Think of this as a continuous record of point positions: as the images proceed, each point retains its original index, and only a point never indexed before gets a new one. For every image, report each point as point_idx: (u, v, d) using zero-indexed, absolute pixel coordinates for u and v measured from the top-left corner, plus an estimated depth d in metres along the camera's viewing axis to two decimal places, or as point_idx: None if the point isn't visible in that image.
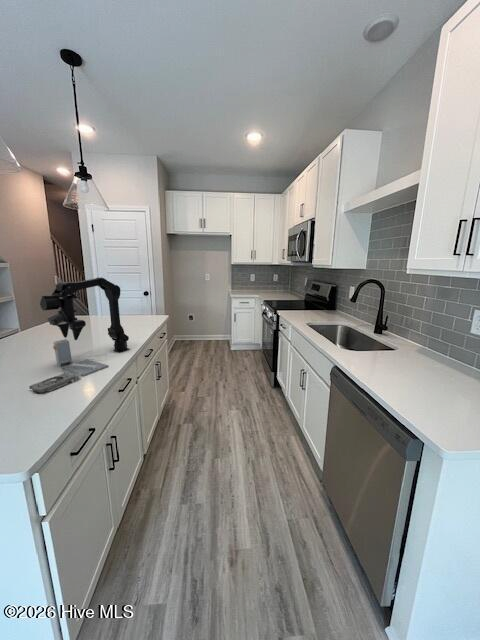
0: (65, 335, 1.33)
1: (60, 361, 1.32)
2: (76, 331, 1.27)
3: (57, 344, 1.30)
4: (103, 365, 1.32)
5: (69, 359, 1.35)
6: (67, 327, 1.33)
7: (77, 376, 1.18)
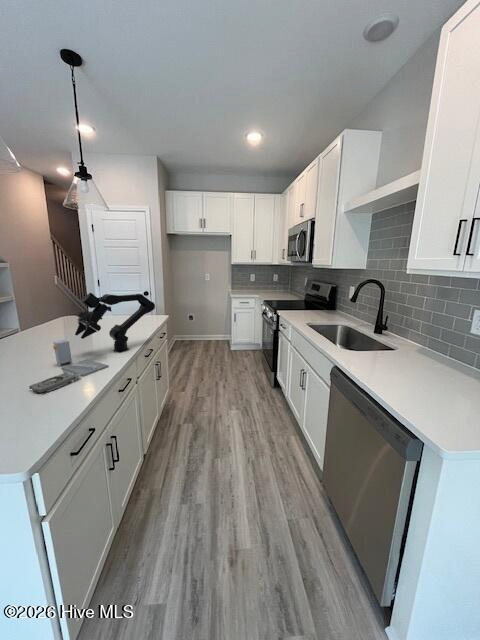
0: (77, 333, 1.42)
1: (60, 361, 1.32)
2: (88, 331, 1.37)
3: (57, 344, 1.30)
4: (103, 365, 1.32)
5: (69, 359, 1.35)
6: (84, 329, 1.45)
7: (77, 376, 1.18)
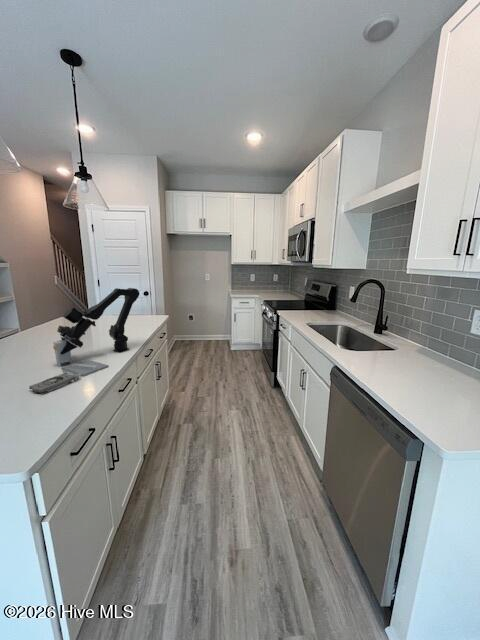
0: None
1: (60, 361, 1.32)
2: (68, 347, 1.33)
3: (57, 344, 1.30)
4: (103, 365, 1.32)
5: (69, 359, 1.35)
6: None
7: (77, 376, 1.18)
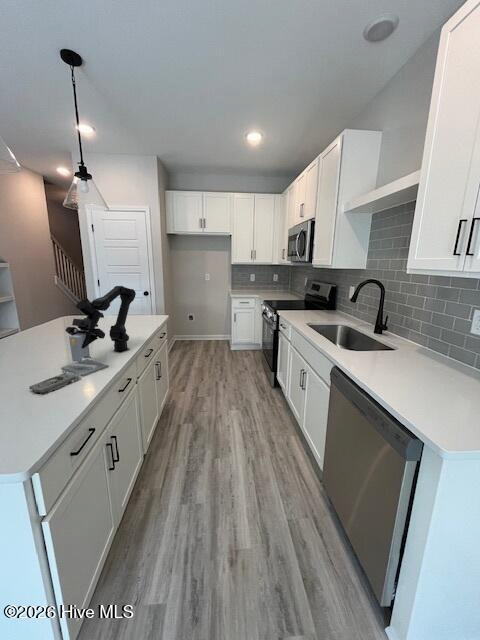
0: None
1: (81, 356, 1.25)
2: (88, 340, 1.27)
3: (78, 338, 1.23)
4: (103, 365, 1.32)
5: (88, 353, 1.29)
6: None
7: (77, 376, 1.18)
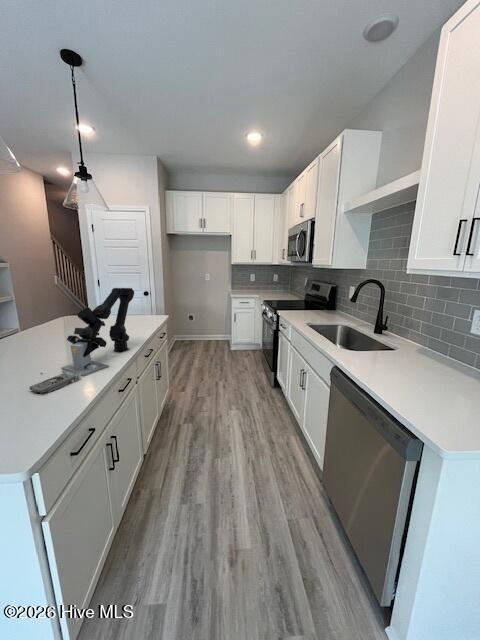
0: None
1: (83, 364, 1.26)
2: (90, 348, 1.28)
3: (80, 346, 1.23)
4: (103, 365, 1.32)
5: (89, 361, 1.29)
6: None
7: (77, 376, 1.18)
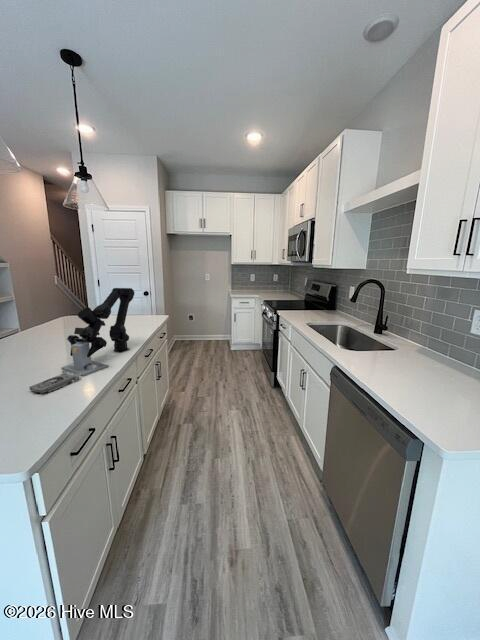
0: None
1: (83, 364, 1.26)
2: (93, 348, 1.27)
3: (81, 346, 1.24)
4: (103, 365, 1.32)
5: (89, 361, 1.30)
6: None
7: (77, 376, 1.18)
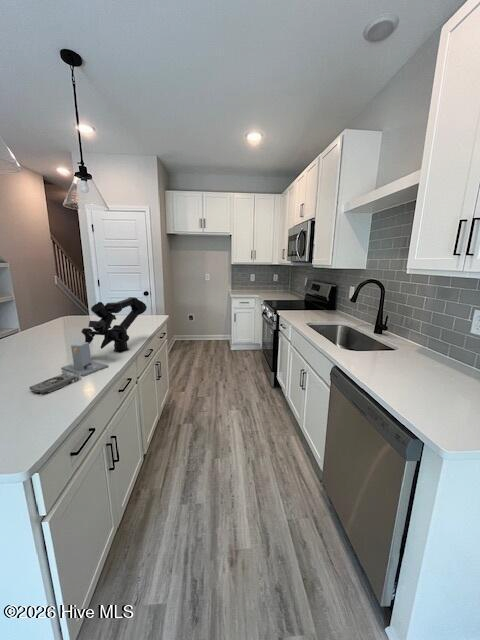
0: None
1: (83, 364, 1.26)
2: (106, 340, 1.37)
3: (81, 346, 1.24)
4: (103, 365, 1.32)
5: (89, 361, 1.30)
6: (91, 340, 1.40)
7: (77, 376, 1.18)
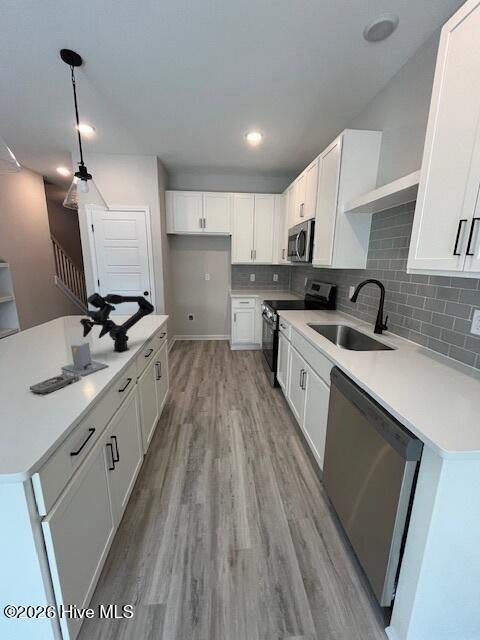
0: (85, 335, 1.38)
1: (83, 364, 1.26)
2: (104, 330, 1.38)
3: (81, 346, 1.24)
4: (103, 365, 1.32)
5: (89, 361, 1.30)
6: (89, 330, 1.41)
7: (77, 376, 1.18)
